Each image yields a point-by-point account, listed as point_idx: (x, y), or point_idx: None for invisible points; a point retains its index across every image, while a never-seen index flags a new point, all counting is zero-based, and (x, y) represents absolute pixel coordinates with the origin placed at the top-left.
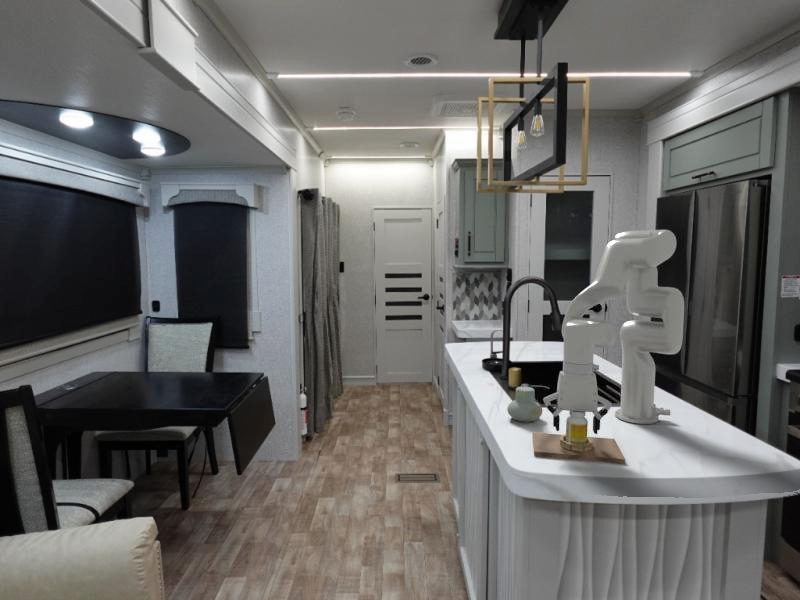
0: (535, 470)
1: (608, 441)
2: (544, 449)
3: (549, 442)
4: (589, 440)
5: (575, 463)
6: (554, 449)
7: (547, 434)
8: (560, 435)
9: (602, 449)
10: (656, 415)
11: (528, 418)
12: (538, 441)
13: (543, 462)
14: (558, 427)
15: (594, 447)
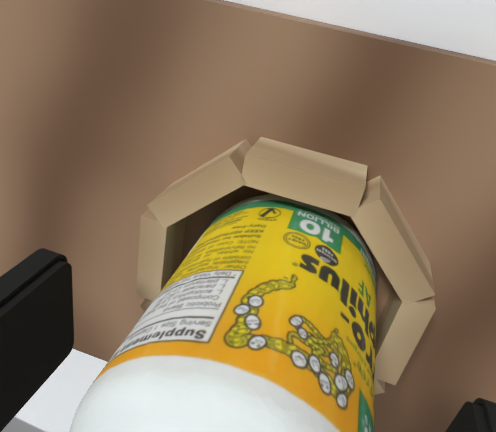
0: (35, 422)
1: None
2: None
3: (87, 204)
4: (395, 339)
5: None
6: (110, 318)
7: (79, 4)
8: (205, 32)
9: (472, 379)
10: None
11: None
12: (12, 180)
13: (66, 373)
14: (41, 378)
15: (422, 339)
